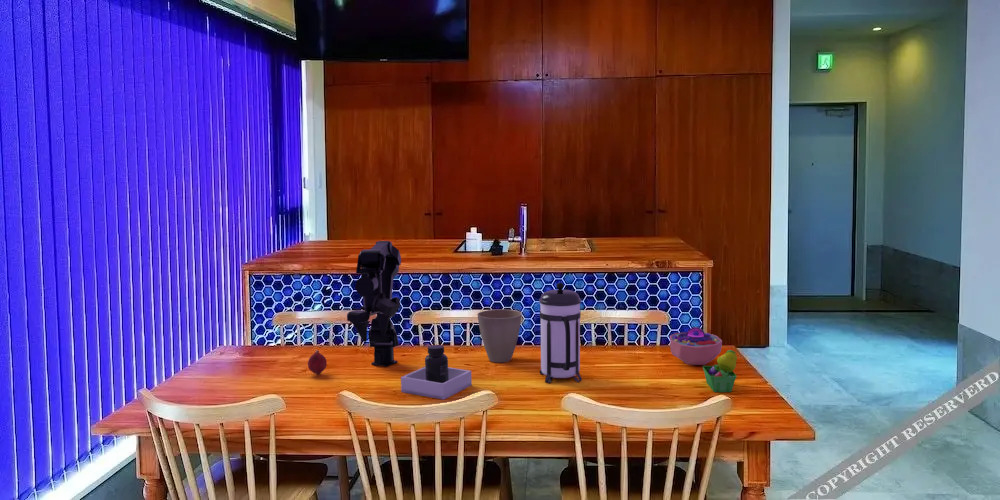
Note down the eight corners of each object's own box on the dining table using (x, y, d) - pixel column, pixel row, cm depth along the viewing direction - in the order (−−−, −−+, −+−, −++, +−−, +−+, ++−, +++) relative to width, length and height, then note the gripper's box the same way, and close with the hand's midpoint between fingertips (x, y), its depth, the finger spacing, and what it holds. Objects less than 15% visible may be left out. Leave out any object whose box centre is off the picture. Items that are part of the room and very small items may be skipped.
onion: (322, 377, 241) (321, 353, 240) (305, 377, 242) (304, 352, 241) (330, 372, 247) (328, 348, 246) (313, 371, 248) (312, 347, 247)
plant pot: (531, 360, 257) (530, 314, 255) (494, 368, 249) (493, 320, 247) (505, 351, 269) (505, 307, 267) (469, 358, 261) (468, 312, 259)
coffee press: (524, 379, 236) (523, 283, 233) (556, 368, 248) (556, 276, 244) (568, 390, 225) (568, 290, 221) (600, 378, 236) (600, 282, 232)
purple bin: (430, 378, 239) (430, 364, 238) (471, 385, 231) (471, 370, 231) (401, 391, 226) (400, 377, 225) (443, 399, 218) (443, 384, 218)
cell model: (663, 368, 246) (664, 334, 244) (673, 353, 264) (674, 321, 263) (718, 374, 239) (718, 338, 238) (724, 357, 258) (725, 324, 256)
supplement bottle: (446, 381, 233) (445, 342, 231) (450, 387, 226) (449, 348, 225) (423, 383, 231) (422, 344, 230) (427, 390, 225) (426, 350, 223)
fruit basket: (701, 381, 232) (702, 345, 230) (730, 381, 231) (731, 345, 230) (710, 393, 220) (711, 355, 219) (741, 393, 220) (742, 355, 219)
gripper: (373, 297, 227) (375, 348, 229) (411, 287, 243) (412, 335, 245) (344, 294, 233) (346, 344, 235) (383, 284, 249) (385, 331, 251)
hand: (374, 338), depth 241 cm, fingers open, 9 cm apart
